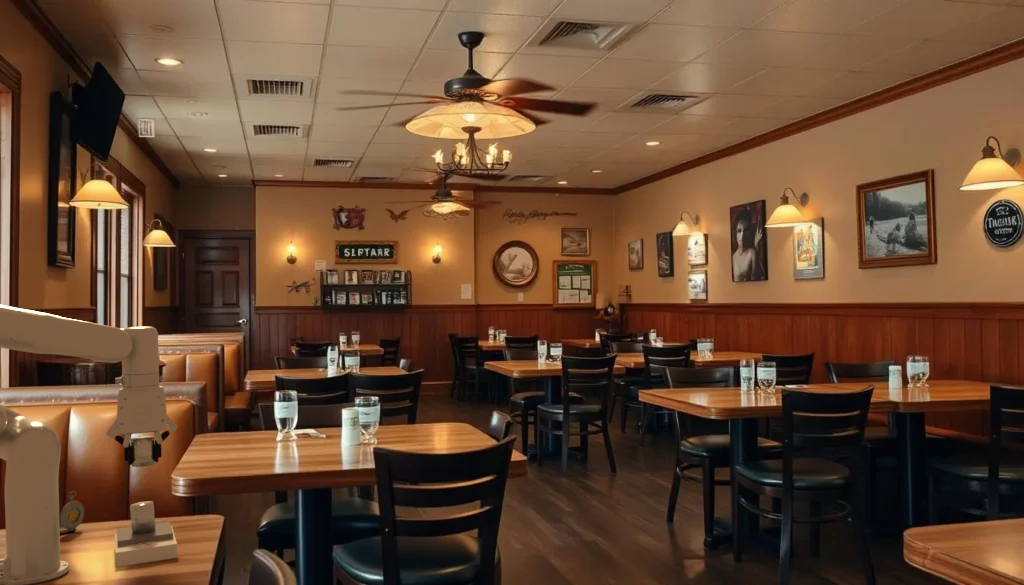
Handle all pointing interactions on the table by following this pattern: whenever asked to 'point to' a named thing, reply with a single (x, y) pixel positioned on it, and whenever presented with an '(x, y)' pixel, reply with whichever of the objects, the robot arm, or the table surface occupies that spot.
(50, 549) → the robot arm
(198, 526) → the table surface
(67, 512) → the pocket watch
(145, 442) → the cylinder
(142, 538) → the scale
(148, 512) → the cylinder
